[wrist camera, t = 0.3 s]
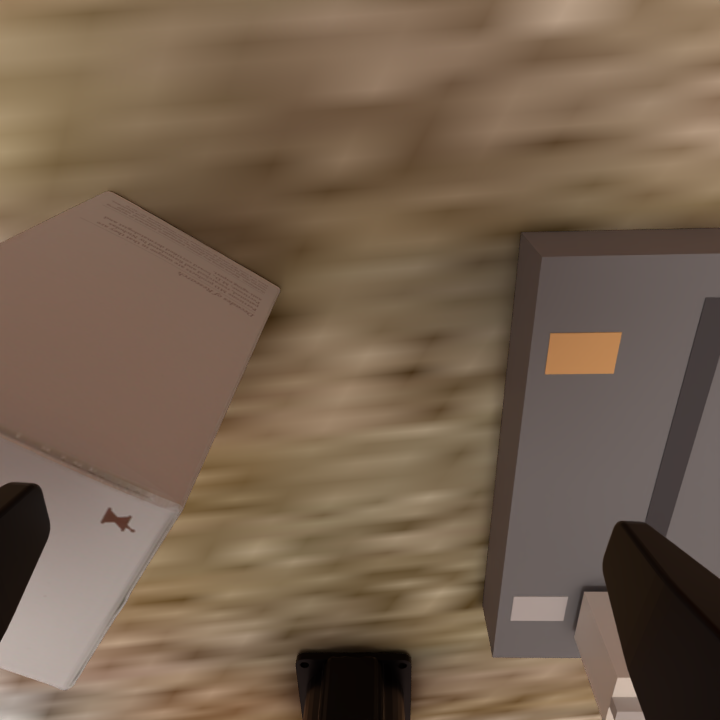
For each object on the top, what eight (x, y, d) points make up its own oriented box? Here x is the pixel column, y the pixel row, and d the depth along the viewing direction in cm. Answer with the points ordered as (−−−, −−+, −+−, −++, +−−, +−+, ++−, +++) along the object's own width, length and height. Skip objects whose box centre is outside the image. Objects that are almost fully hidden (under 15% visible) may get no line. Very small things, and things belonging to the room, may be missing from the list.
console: (713, 605, 30) (747, 659, 27) (482, 604, 30) (492, 658, 27) (857, 225, 20) (931, 249, 18) (521, 231, 21) (542, 257, 18)
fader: (684, 637, 26) (740, 741, 22) (574, 637, 26) (609, 739, 22) (701, 591, 24) (763, 693, 21) (584, 591, 25) (623, 691, 21)
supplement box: (107, 182, 20) (-219, 326, 9) (286, 287, 22) (194, 517, 11) (44, 337, 23) (-260, 587, 12) (206, 419, 25) (69, 705, 14)
